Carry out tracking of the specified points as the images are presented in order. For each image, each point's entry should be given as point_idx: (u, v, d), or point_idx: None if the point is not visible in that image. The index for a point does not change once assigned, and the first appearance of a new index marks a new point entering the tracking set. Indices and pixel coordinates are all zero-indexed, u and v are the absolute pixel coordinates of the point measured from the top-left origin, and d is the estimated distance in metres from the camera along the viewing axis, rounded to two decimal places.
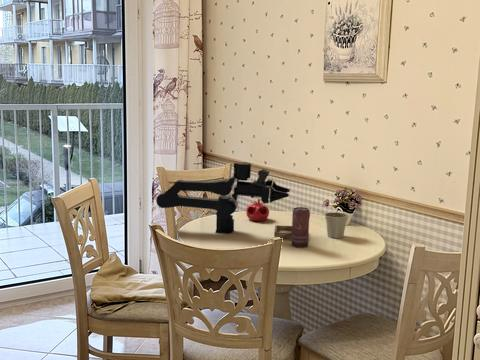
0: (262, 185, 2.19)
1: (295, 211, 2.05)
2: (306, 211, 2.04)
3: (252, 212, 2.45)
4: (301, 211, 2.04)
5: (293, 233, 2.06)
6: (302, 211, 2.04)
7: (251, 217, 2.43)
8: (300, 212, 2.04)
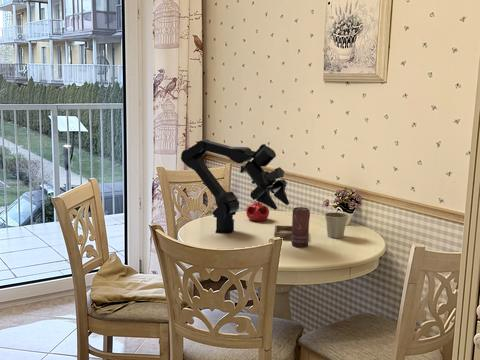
0: (266, 182, 2.10)
1: (295, 211, 2.05)
2: (306, 211, 2.04)
3: (252, 212, 2.45)
4: (301, 211, 2.04)
5: (293, 233, 2.06)
6: (302, 211, 2.04)
7: (251, 217, 2.43)
8: (300, 212, 2.04)
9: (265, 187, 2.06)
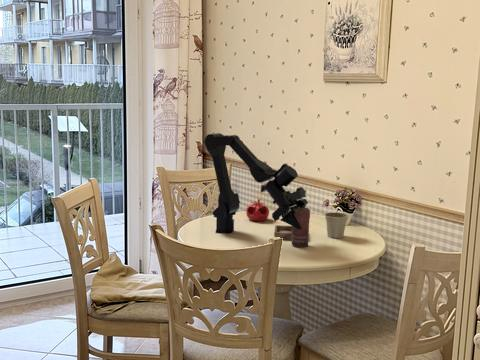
0: (287, 202, 2.06)
1: (295, 211, 2.05)
2: (306, 211, 2.04)
3: (252, 212, 2.45)
4: (301, 211, 2.04)
5: (293, 233, 2.06)
6: (302, 211, 2.04)
7: (251, 217, 2.43)
8: (300, 212, 2.04)
9: (287, 208, 2.02)
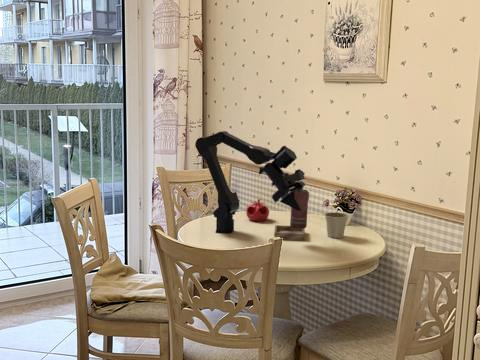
0: (287, 184, 2.07)
1: (295, 193, 2.07)
2: (306, 193, 2.06)
3: (252, 212, 2.45)
4: (301, 193, 2.06)
5: (292, 214, 2.08)
6: (302, 193, 2.06)
7: (251, 217, 2.43)
8: (300, 194, 2.06)
9: (287, 189, 2.03)
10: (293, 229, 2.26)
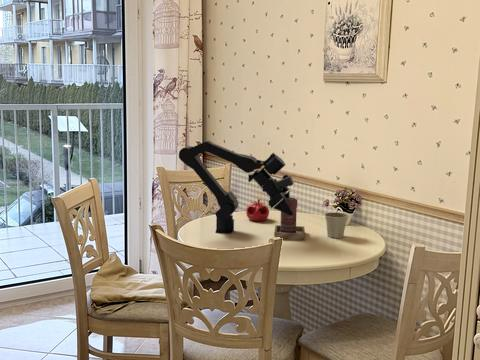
0: (279, 189, 2.17)
1: None
2: (295, 201, 2.17)
3: (252, 212, 2.45)
4: (291, 201, 2.16)
5: (284, 222, 2.18)
6: (292, 201, 2.16)
7: (251, 217, 2.43)
8: (291, 202, 2.16)
9: (283, 195, 2.13)
10: None
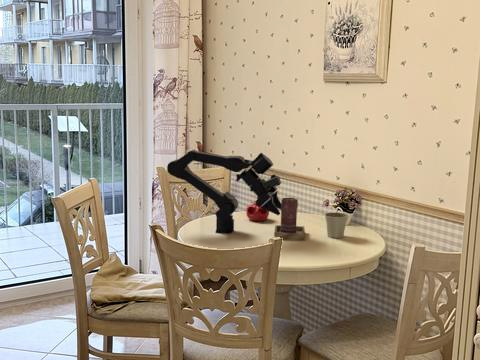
0: (266, 189, 2.18)
1: (286, 201, 2.17)
2: (296, 201, 2.18)
3: (252, 212, 2.45)
4: (292, 201, 2.17)
5: (284, 222, 2.18)
6: (293, 201, 2.17)
7: (251, 217, 2.43)
8: (291, 202, 2.16)
9: (270, 194, 2.14)
10: None
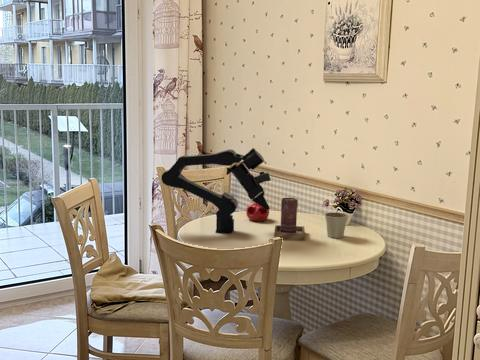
0: (257, 183, 2.19)
1: (286, 202, 2.17)
2: (296, 201, 2.18)
3: (252, 212, 2.45)
4: (292, 201, 2.16)
5: (284, 222, 2.18)
6: (293, 201, 2.17)
7: (251, 217, 2.43)
8: (291, 202, 2.16)
9: None
10: None
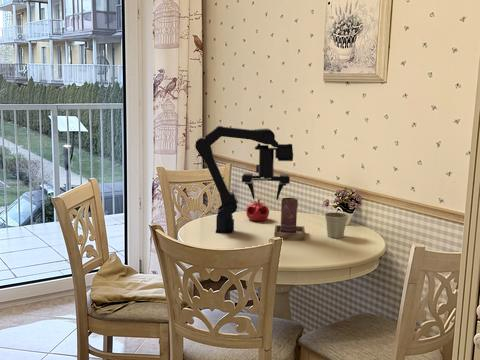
0: (273, 173, 2.26)
1: (286, 201, 2.17)
2: (296, 201, 2.18)
3: (252, 212, 2.45)
4: (292, 201, 2.17)
5: (284, 222, 2.18)
6: (293, 201, 2.17)
7: (251, 217, 2.43)
8: (291, 202, 2.16)
9: None
10: None
